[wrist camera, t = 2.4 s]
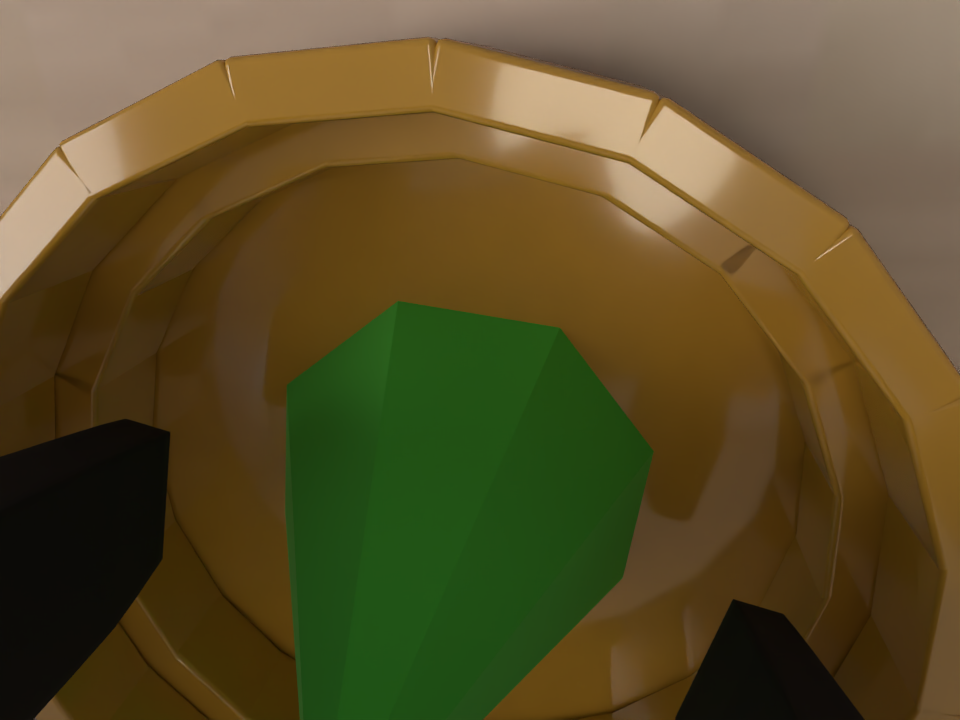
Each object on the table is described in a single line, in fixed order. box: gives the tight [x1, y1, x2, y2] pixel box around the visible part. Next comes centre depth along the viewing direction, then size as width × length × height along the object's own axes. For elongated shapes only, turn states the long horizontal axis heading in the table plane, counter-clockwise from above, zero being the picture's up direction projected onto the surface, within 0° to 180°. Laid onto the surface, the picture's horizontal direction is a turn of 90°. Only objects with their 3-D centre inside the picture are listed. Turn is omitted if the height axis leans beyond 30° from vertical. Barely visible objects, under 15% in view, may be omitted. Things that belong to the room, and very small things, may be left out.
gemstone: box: [285, 301, 654, 720], centre depth 8 cm, size 6×6×6 cm
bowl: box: [0, 37, 960, 720], centre depth 10 cm, size 12×12×4 cm
